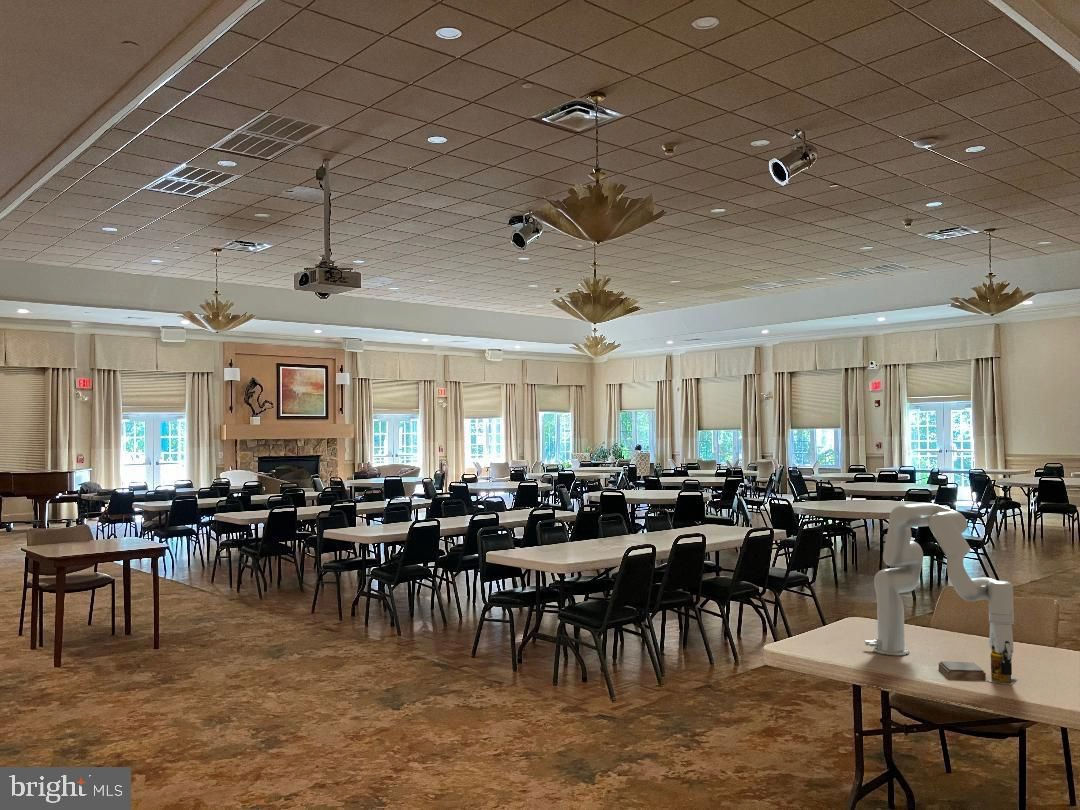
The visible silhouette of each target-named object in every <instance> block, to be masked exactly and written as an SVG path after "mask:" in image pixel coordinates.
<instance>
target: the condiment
mask: <svg viewBox="0 0 1080 810" xmlns="http://www.w3.org/2000/svg"><path fill="white" fill-rule="evenodd" d="M1003 653H1006V652H1003ZM1005 656H1006V655H1004V658H1005ZM1001 662H1002V659H1001V653H1000V654H998V653H996V652H995V647H994V646H993V645H992V649H991V653H990V675H991V677H990V679H989V680H988V681H987V682H990V683H995V684H996V683H997V684H1002V685H1010V686H1011V685H1013V684H1014V683H1015V682H1016V681H1017V678H1012V675H1002V674H1001Z"/></svg>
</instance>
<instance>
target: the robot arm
mask: <svg viewBox="0 0 1080 810" xmlns="http://www.w3.org/2000/svg"><path fill="white" fill-rule="evenodd" d="M919 527H929V529H930V531H931V533H932V534H933V537H934V538H935V540H936V541H937V543H938V545H939V546H940V548H941V550H942V552H943V554H944V555H945V556H946V559H947V560H946V572H947V573H946V574H947V576H948V580H949V582H950V583H951V586H952V587H953V589H954V590H955V592H956V593H957V594H958V596H959V597H960V598H961V599H963V600H964V601H965V602H966V601H967V602H977V601H983V600H987V601H988V623H989V639H988V640H989V641H988V642H989V644H988V645H989V648H990V649H991V650H992V645H993V646H994V647H995V652H996V653H998V654H1000V653H1001V659H1002V662H1001V674H1002V675H1011V676H1012V674H1013V669H1012V667H1013V666H1012V659H1013V658H1012V657H1013V654H1014V635H1013V634H1014V633H1013V625H1014V624H1015V615H1014V614H1015V612H1014V611H1015V609H1014V586H1013V584H1012V583H1011V582H1009V581H1006V580H997V579H993V578H991V577H975V578H974V577H973V578H971V577H970V576H969V574H968V572H967V570H966V569H965V566H964V559H965V557H966V556H967V555H968V554H969V552H970V551H971V546H970V545H969V543H968V541H967V540H966V539H965V536H964V535H963V534H964V533H965V532H966V531H967V529H968V522H967V519H966V517H965V515H963V514H962V513H961V512H959V511H957V510H954V509H951V508H948V507H945V506H942V505H939V504H936V503H930V502H927V503H926V502H925V503H910V504H902V505H898V506H896V507H894V508H893V509H892V510H891V511H890V514H889V517H888V529H887V533H886V539H885V543H884V548H883V554H882V558H883V562H884V564H885V565H887V566H888V567H890V568H883V569H881V570H879V571H878V572H876V573H875V575H874V579H873V585H874V591H875V595H876V609H877V610H876V613H877V615H876V617H877V637H876V638H875V639H873V640H867V639H866V640H864V645H865V646H869V647H873V651H874V653H876V654H877V653H878V654H880V655H885V654H886V655H885V656H906V654H907V655H909V653H910V650H909V648H907V647H906V646H905V611H904V608H905V607H904V602H903V599H902V597H901V595H900V594H903V593H908V592H912V591H914V590H915V589H916V588H917V586H918V584H919V580H920V576H921V571H922V566H923V561H924V551H923V549H922V547H921V545H920V544H919V543H918V542H916V541H913V540H911V539H912V530H911V528H919ZM1003 652H1006V653H1003ZM1004 655H1006V656H1005V658H1004Z"/></svg>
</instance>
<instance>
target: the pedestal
mask: <svg viewBox="0 0 1080 810" xmlns="http://www.w3.org/2000/svg"><path fill="white" fill-rule="evenodd" d="M938 670H939V671H940V672H941V673H942V675H944V676H945V677H946V678H947V679H949V680H974V681H975V680H980V681H981V680H983V681H986V680H987V677H986V675H987V674H986V672H985V670H983V669H982V668H981V667H980V666H979V665H978V664H976V663H975V662H974V661H940V662H938Z"/></svg>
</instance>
